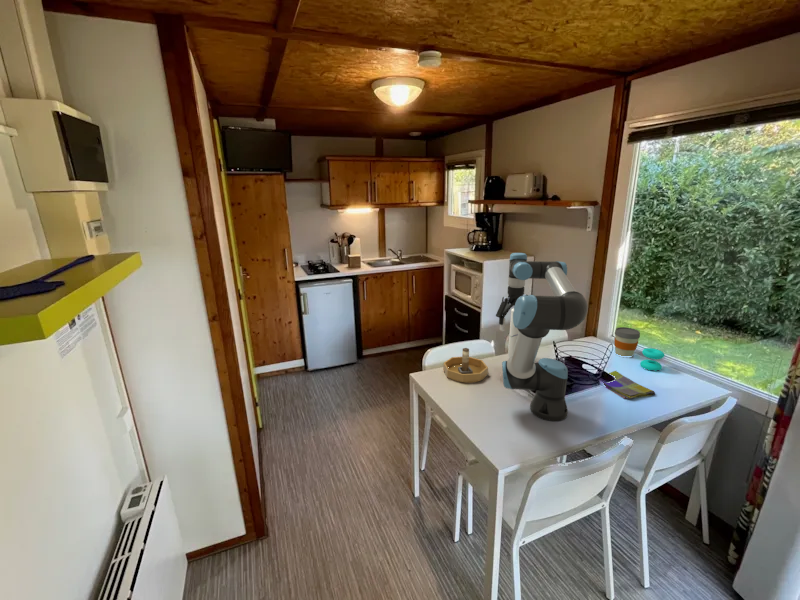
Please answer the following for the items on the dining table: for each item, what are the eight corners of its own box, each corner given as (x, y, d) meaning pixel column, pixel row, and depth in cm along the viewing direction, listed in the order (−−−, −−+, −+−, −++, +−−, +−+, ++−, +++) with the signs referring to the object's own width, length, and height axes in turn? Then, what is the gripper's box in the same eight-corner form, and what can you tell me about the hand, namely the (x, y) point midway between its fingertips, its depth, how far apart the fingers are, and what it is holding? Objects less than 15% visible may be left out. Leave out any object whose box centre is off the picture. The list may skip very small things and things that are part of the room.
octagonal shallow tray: (492, 381, 190) (492, 372, 189) (450, 384, 188) (450, 375, 187) (478, 363, 211) (478, 355, 210) (440, 365, 209) (440, 358, 207)
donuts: (647, 345, 207) (668, 351, 199) (644, 362, 210) (664, 368, 202) (639, 350, 201) (660, 356, 194) (636, 367, 204) (657, 373, 196)
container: (525, 363, 210) (529, 312, 202) (509, 363, 210) (513, 312, 202) (520, 357, 218) (524, 308, 210) (506, 357, 218) (509, 308, 210)
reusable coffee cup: (640, 355, 218) (644, 331, 214) (629, 361, 212) (633, 336, 208) (619, 348, 228) (622, 325, 224) (607, 353, 222) (610, 329, 218)
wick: (469, 373, 198) (469, 350, 195) (462, 373, 198) (463, 350, 194) (467, 370, 201) (468, 347, 198) (461, 370, 201) (461, 348, 198)
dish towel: (616, 374, 198) (617, 369, 197) (657, 396, 175) (658, 391, 174) (588, 378, 194) (589, 373, 193) (627, 402, 171) (628, 396, 170)
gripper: (530, 281, 184) (527, 322, 190) (489, 287, 174) (487, 330, 180) (542, 284, 178) (538, 326, 184) (500, 290, 168) (497, 335, 173)
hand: (513, 328), depth 182 cm, fingers open, 13 cm apart
